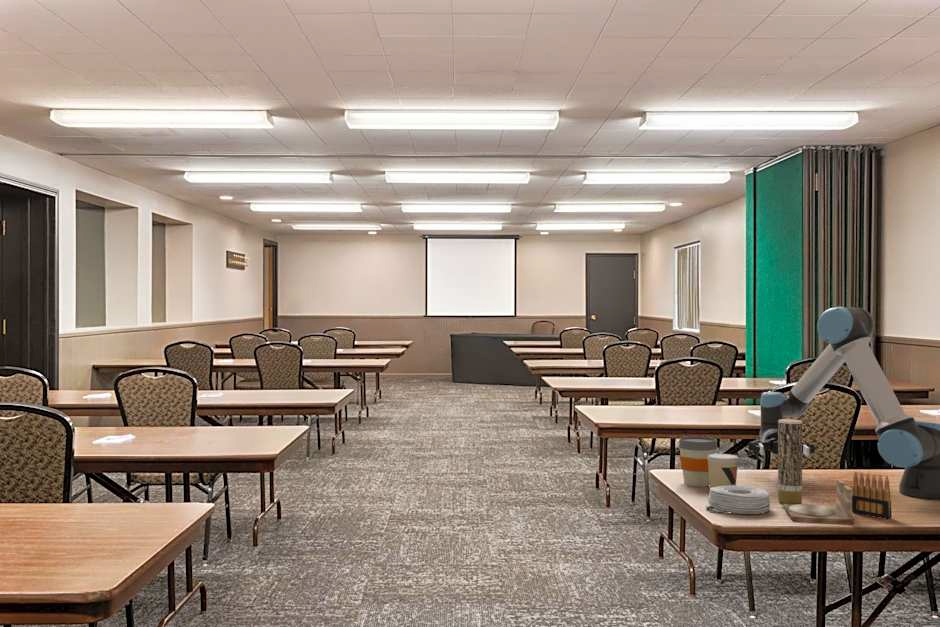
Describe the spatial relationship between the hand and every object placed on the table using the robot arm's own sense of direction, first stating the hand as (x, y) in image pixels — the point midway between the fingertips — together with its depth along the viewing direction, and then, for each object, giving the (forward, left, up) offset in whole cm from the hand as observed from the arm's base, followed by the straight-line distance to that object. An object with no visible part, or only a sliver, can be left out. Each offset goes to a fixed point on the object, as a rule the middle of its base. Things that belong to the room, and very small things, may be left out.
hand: (785, 451), depth 260 cm
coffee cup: (+19, 0, -14) cm, 24 cm away
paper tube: (0, +10, -14) cm, 17 cm away
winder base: (-5, +24, -14) cm, 29 cm away
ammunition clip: (-20, +21, -14) cm, 32 cm away
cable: (+16, +20, -14) cm, 29 cm away
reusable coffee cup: (+26, -14, -14) cm, 33 cm away
